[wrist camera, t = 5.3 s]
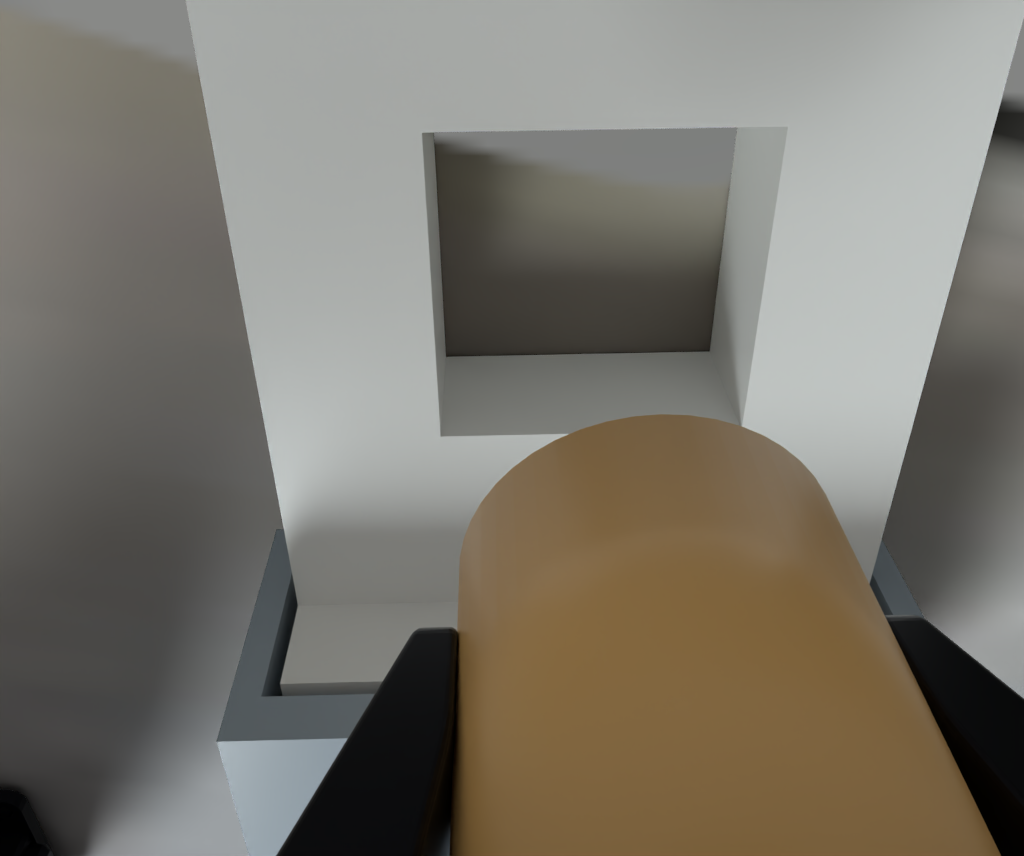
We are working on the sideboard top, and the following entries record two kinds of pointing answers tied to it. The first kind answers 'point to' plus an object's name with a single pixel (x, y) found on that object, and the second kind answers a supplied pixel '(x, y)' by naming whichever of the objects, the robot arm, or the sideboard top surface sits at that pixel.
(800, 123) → the housing
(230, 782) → the cabinet
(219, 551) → the sideboard top surface
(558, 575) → the rounded peg
